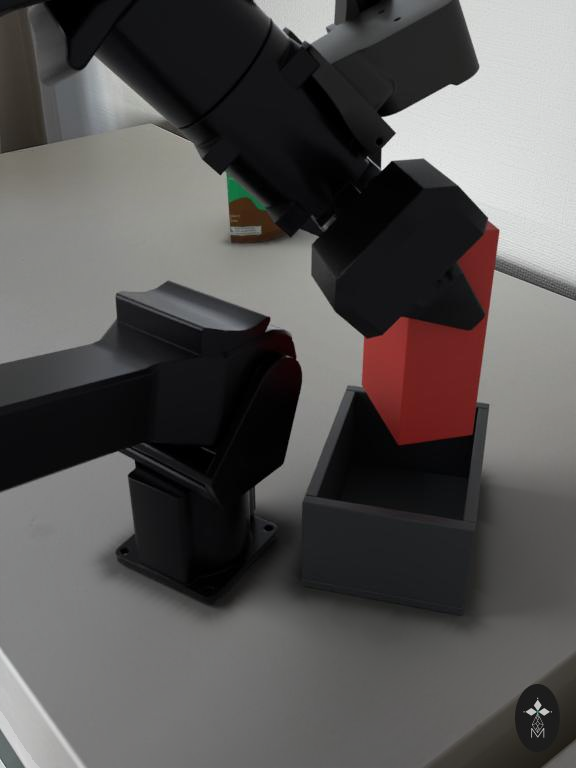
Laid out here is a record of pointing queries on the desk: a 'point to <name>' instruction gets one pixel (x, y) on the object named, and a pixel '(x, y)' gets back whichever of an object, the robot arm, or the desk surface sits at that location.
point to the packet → (432, 363)
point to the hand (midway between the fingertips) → (450, 294)
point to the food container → (248, 216)
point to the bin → (392, 511)
